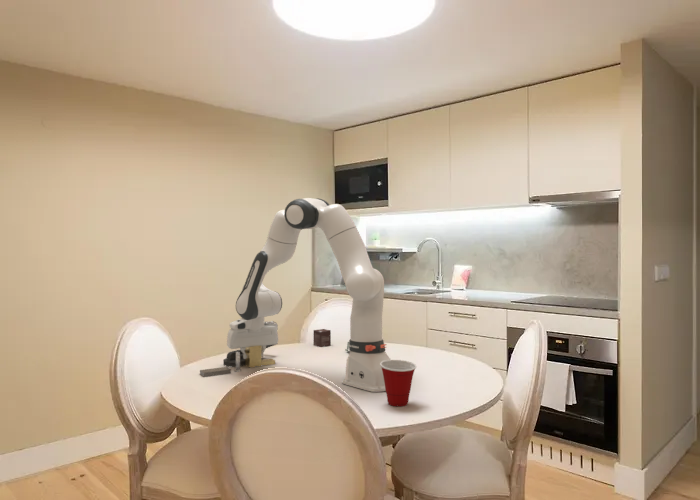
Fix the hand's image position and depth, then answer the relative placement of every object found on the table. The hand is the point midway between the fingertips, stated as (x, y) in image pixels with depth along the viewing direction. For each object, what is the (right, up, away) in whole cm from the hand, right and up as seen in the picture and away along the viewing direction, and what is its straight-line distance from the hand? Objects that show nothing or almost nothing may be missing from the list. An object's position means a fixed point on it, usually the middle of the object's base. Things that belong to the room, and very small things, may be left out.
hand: (253, 357), depth 207 cm
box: (+25, -3, +42) cm, 49 cm away
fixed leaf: (-10, -3, -12) cm, 15 cm away
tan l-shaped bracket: (+3, -3, +2) cm, 4 cm away
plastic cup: (+52, -3, -51) cm, 73 cm away
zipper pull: (-3, -3, +10) cm, 11 cm away
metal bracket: (+43, -3, +26) cm, 50 cm away
